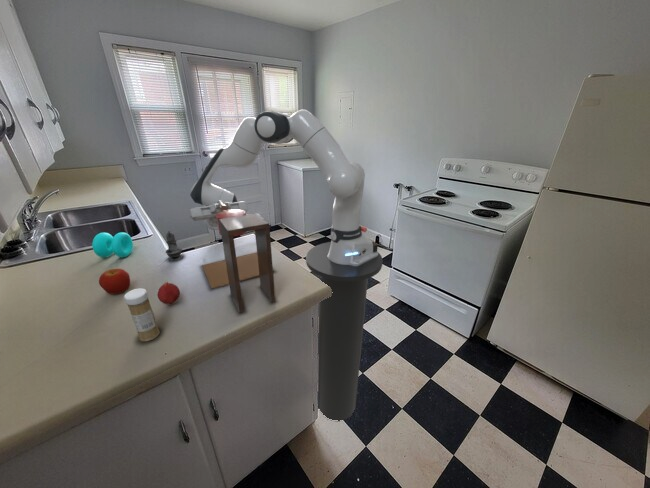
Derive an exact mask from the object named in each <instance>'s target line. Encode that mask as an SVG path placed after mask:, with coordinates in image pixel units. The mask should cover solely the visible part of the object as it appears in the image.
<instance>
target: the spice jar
mask: <svg viewBox="0 0 650 488" xmlns="http://www.w3.org/2000/svg"><path fill="white" fill-rule="evenodd" d="M123 299H124V301H125V304H126V305H127V306H128V310H129V312H130V316H131V318H132V321H133V324H134V327H135V330H136V331H137V334H138V336H139V340H140V342H150V341H153V340H154V339H157V338H158V337H159V334H160V331H161V330H160V329H159V327H158V324H157V319H156V317H155V313H154V312H153V309H152V306H151V302H150V300H149V294H148V291H147V289H145V288H140V287H139V288H135V289H132V290H129V291H128V292H126V293H125V294H124V296H123Z"/></svg>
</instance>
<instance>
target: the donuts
mask: <svg viewBox="0 0 650 488" xmlns="http://www.w3.org/2000/svg"><path fill="white" fill-rule="evenodd" d="M91 246H92V250H93V252H94V254H95V255H96V256H97V257H99V258H108V257H110V256H113V254H114V255H115V256H117V257H119V258H126V257H128V256H129V255H130V254H131V253H132V251H133V249H134V242H133V238H132V237H131V236H130V234H128V233H127V232H123V231H121V232H118V233H116V234H115V235H114V236H113V235H112V234H110V233H109V232H100V233H97V234H96V235H95V236H94V238H93V239H92V243H91Z"/></svg>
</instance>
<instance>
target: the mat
mask: <svg viewBox="0 0 650 488" xmlns="http://www.w3.org/2000/svg"><path fill="white" fill-rule="evenodd" d="M236 259H237V266H238V273H239V280H240V282H243V281H248V280H250V279H254V278H258V277H260V276H259V266H258V256H257V252H254V253H253V252H252V253H250V254H249V253H248V254H245V255H240V256H236ZM201 266H202V270H203V271H204V273H205V276H206V279H207V281H208V283H209V286H210V288H211V290H214V289H217V288H221V287H224V286H229V280H228V273H227V267H226V261H225V259H223V260H219V261H215V262H209V263H206V264H202V265H201ZM274 272H275V270H273V273H274Z"/></svg>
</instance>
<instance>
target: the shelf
mask: <svg viewBox="0 0 650 488" xmlns="http://www.w3.org/2000/svg"><path fill="white" fill-rule="evenodd" d="M219 223H220V230H221V235H220V236H221V241H222V248H223V254H224V260H225V261H226V267H227V273H228V280H229V285H228V286H229V292H230V296H231V299H232V300H233V303H234V304H235V307H236V309H237V311H238V312H239V314H242V313H245V309H244V303H243V296H242V287H241V281H240V280H239V273H238V266H237V259H236V257H237V253H236V246H235V236H233V234H237V233H242V232H246V233H247V232H253V231H254V237H255V245H256V253H257V256H258V266H259V276H258V277H259V285H260V289H261V290H262V292H263V293H264V295H266V297H267V298H268V300H269V301H270V302H271V304H272V303H276V294H275V293H276V292H275V281H274V280H275V279H274V272H273V271H274V267H273V255H272V241H271V230H270V229H271V228H270V222H268V221H267V220H266V219H264V217H262V216H261V215H260V214H259V213H257V212H256V213H250V214H246V215H243V216H236V217H230V218H224V219H219Z"/></svg>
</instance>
